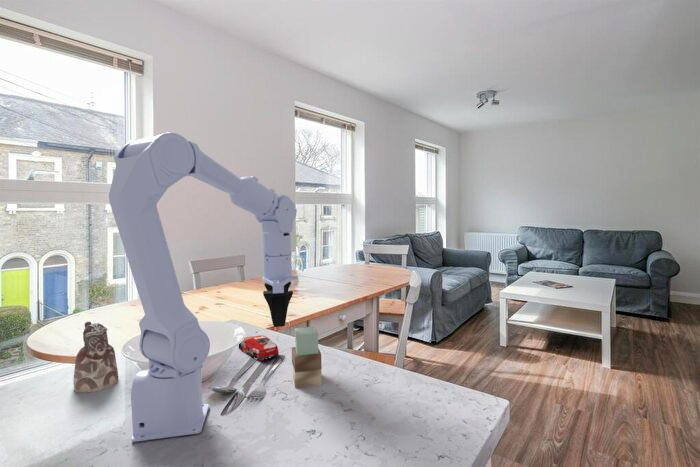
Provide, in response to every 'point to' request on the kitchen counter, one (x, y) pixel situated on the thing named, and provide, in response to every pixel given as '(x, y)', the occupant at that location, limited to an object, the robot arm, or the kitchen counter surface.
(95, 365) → the figurine
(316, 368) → the walnut top block
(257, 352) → the race car
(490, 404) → the kitchen counter surface
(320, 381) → the beech base block
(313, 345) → the sage cube
